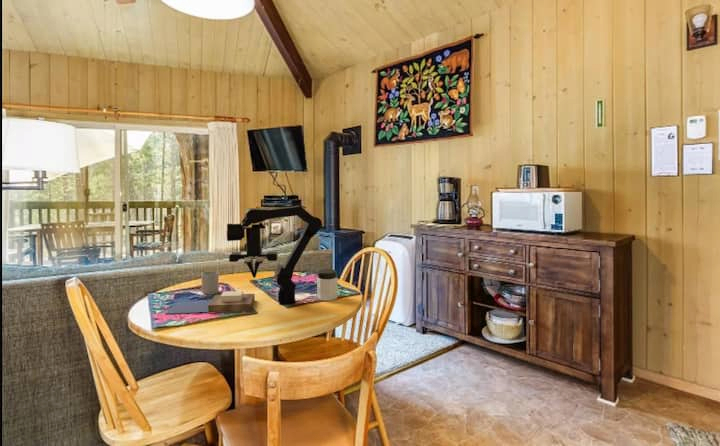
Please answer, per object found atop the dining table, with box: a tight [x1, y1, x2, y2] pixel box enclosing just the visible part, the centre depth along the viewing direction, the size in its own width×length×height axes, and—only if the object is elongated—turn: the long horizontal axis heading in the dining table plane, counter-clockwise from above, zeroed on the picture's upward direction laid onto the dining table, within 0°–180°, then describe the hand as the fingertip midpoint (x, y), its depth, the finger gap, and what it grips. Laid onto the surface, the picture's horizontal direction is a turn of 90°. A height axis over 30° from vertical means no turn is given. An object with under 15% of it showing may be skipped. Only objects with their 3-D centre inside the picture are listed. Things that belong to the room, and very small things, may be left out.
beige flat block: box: [220, 290, 244, 302], centre depth 173 cm, size 8×6×2 cm
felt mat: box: [165, 300, 212, 315], centre depth 171 cm, size 16×14×1 cm
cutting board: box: [208, 293, 256, 313], centre depth 173 cm, size 16×14×3 cm
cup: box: [200, 270, 220, 295], centre depth 193 cm, size 7×10×9 cm
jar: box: [316, 268, 338, 302], centre depth 184 cm, size 9×8×12 cm
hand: (254, 277), depth 173 cm, fingers closed
